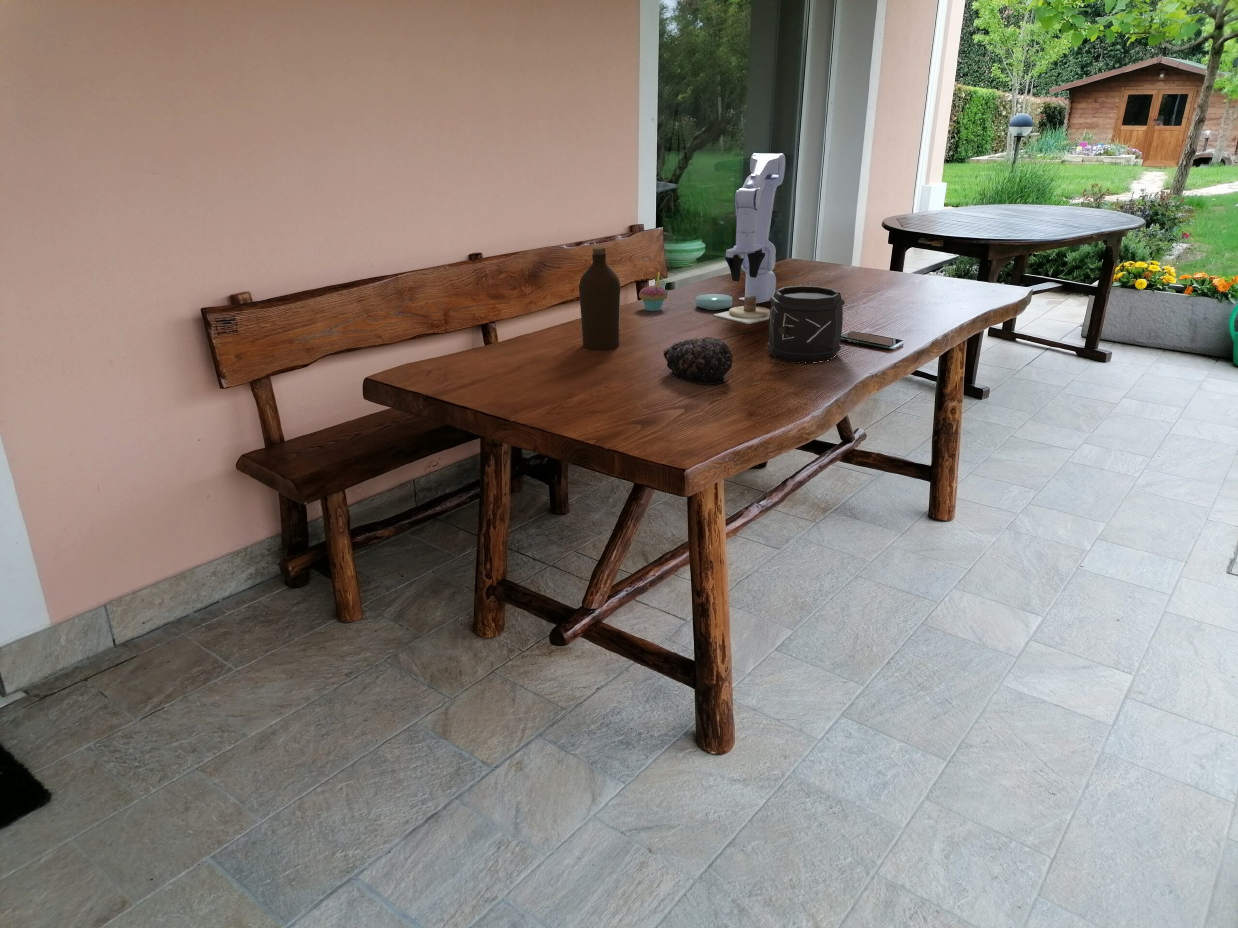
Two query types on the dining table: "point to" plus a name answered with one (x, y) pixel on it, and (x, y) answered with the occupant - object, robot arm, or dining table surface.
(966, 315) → the dining table surface
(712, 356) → the pine cone
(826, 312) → the dark grey barrel
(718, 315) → the mat
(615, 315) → the olive oil
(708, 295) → the light blue flat disc
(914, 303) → the dining table surface
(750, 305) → the lid
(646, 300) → the cupcake
